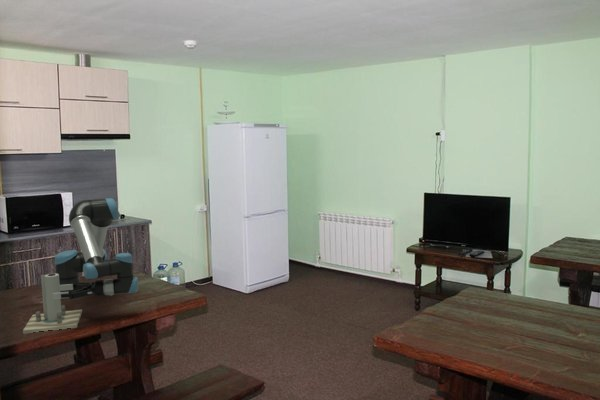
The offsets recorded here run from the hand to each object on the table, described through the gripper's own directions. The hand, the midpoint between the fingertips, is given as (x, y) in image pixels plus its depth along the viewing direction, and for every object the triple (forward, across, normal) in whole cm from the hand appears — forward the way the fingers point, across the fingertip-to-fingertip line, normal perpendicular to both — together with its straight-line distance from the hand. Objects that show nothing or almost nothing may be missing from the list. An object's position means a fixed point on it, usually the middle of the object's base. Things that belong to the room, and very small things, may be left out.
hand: (55, 292), depth 236 cm
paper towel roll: (+2, +1, -13) cm, 13 cm away
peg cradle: (+2, 0, -15) cm, 15 cm away
